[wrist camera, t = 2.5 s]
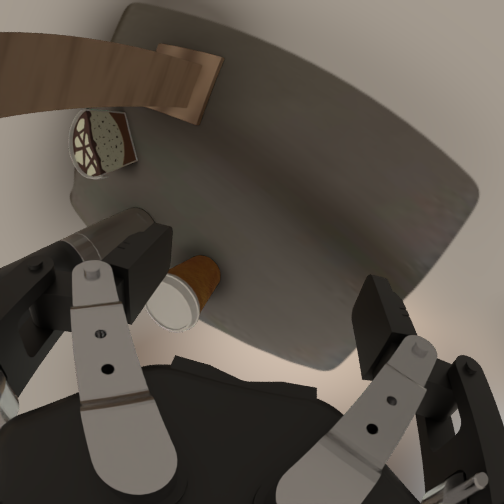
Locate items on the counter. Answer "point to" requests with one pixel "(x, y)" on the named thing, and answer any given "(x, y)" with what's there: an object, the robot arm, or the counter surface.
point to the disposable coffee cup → (183, 294)
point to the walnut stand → (102, 76)
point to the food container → (100, 142)
